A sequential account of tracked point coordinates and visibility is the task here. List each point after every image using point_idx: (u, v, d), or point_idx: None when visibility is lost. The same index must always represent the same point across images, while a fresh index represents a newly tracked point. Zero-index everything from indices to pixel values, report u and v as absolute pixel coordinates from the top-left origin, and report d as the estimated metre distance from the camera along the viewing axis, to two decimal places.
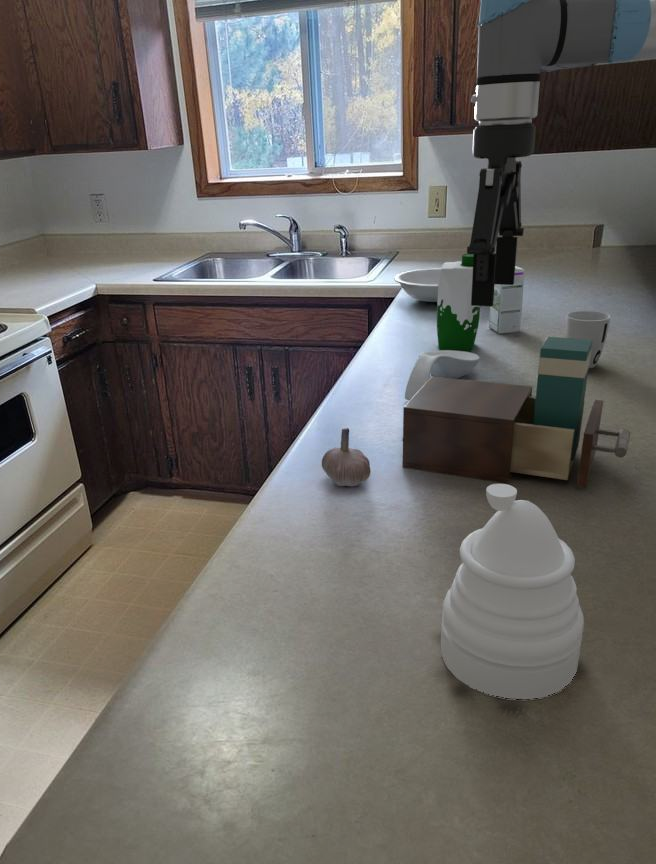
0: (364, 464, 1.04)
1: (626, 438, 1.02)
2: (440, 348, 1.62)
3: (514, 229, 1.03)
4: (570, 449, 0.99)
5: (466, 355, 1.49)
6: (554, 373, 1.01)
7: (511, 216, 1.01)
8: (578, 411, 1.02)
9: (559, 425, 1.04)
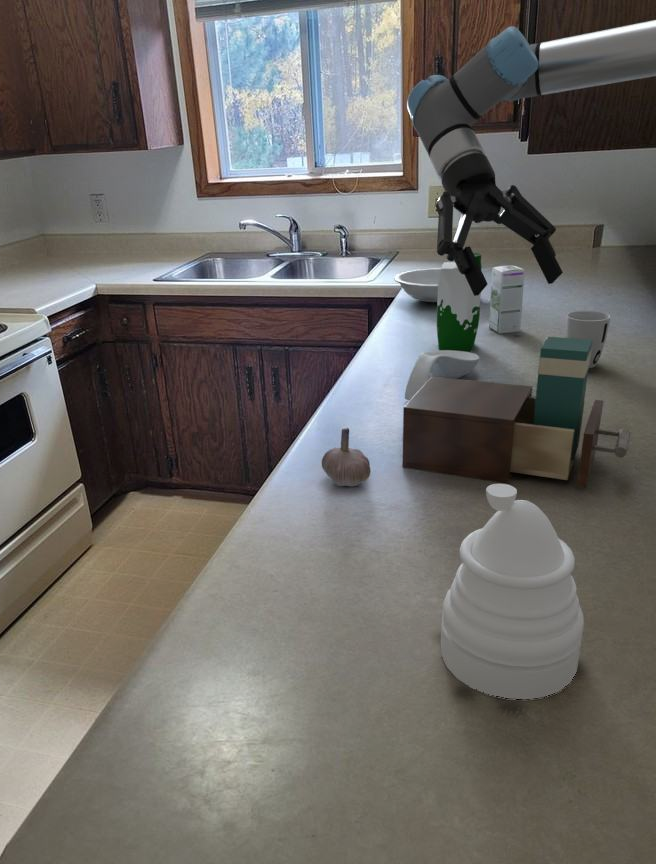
0: (364, 464, 1.04)
1: (626, 438, 1.02)
2: (440, 348, 1.62)
3: (537, 232, 1.11)
4: (570, 449, 0.99)
5: (466, 355, 1.49)
6: (554, 373, 1.01)
7: (522, 223, 1.11)
8: (578, 411, 1.02)
9: (559, 425, 1.04)
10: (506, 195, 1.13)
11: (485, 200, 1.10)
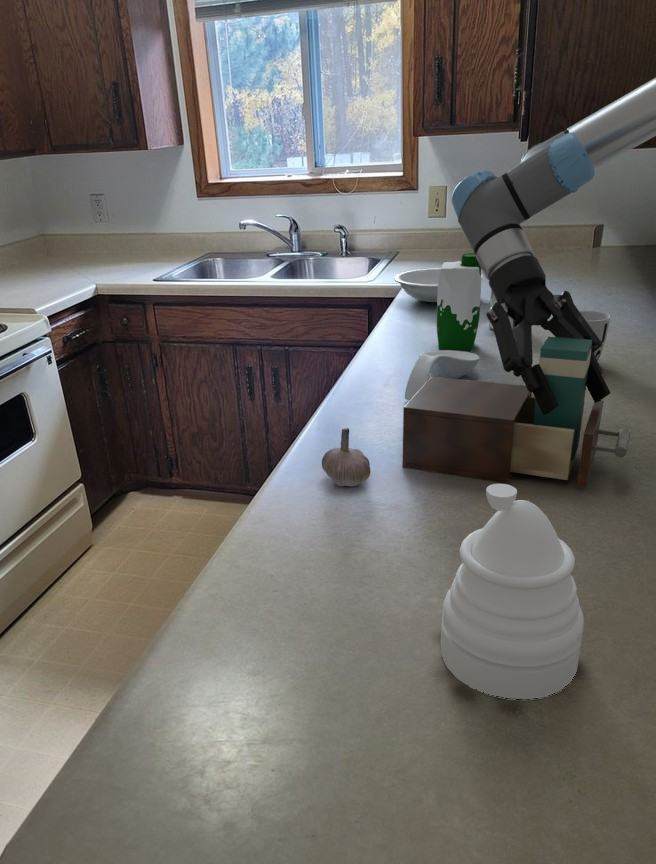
0: (364, 464, 1.04)
1: (626, 438, 1.02)
2: (440, 348, 1.62)
3: None
4: (570, 449, 0.99)
5: (466, 355, 1.49)
6: (554, 372, 1.01)
7: (568, 334, 1.06)
8: (578, 411, 1.02)
9: (559, 425, 1.04)
10: (557, 300, 1.08)
11: (536, 304, 1.06)
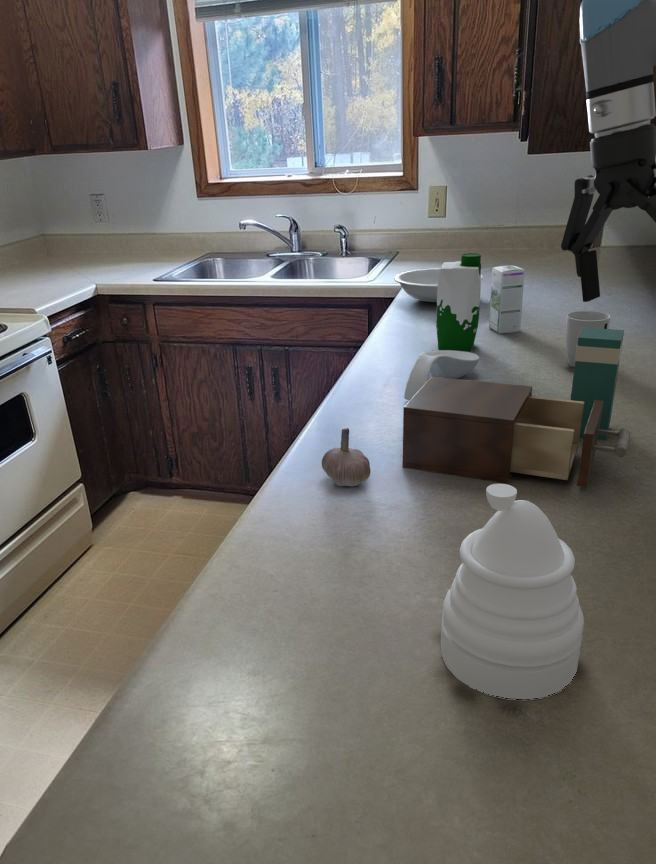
0: (364, 464, 1.04)
1: (626, 438, 1.02)
2: (440, 348, 1.62)
3: (592, 242, 1.02)
4: (570, 449, 0.99)
5: (466, 355, 1.49)
6: (590, 359, 1.12)
7: (600, 227, 1.00)
8: (611, 394, 1.13)
9: None
10: None
11: None
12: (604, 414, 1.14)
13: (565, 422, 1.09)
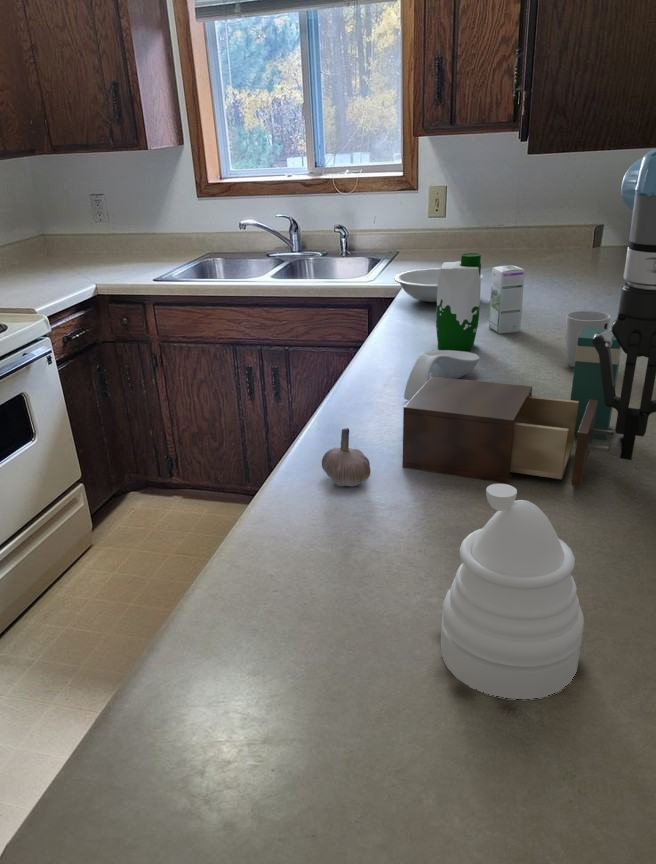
0: (364, 464, 1.04)
1: (620, 437, 1.02)
2: (440, 348, 1.62)
3: (630, 396, 1.00)
4: (564, 448, 1.00)
5: (466, 355, 1.49)
6: (590, 359, 1.12)
7: (633, 378, 0.99)
8: None
9: None
10: None
11: None
12: (604, 414, 1.14)
13: (560, 421, 1.10)
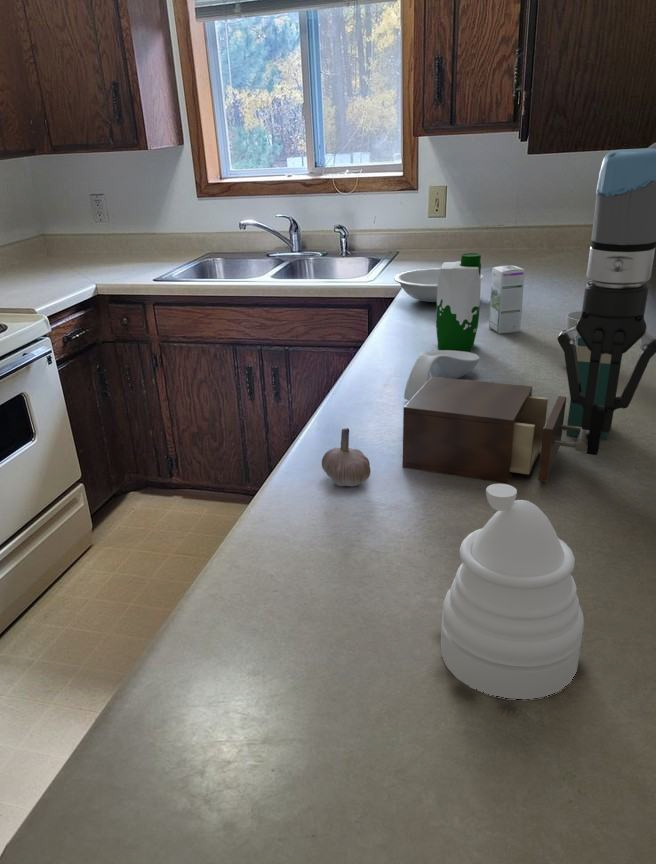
0: (364, 464, 1.04)
1: (587, 433, 1.04)
2: (440, 348, 1.62)
3: (595, 393, 1.02)
4: (531, 444, 1.02)
5: (466, 355, 1.49)
6: None
7: (598, 375, 1.00)
8: None
9: None
10: None
11: None
12: None
13: (529, 418, 1.12)
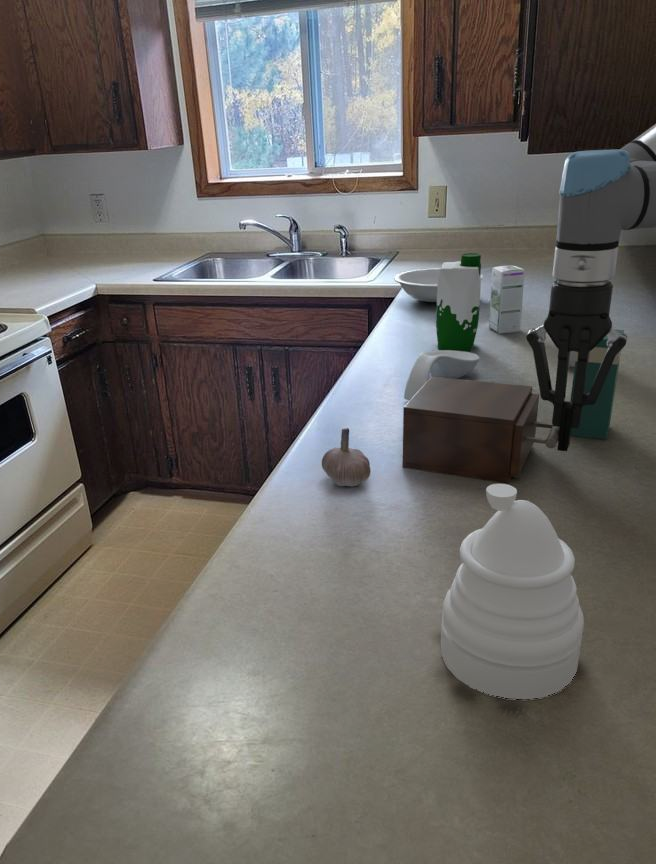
0: (364, 464, 1.04)
1: (558, 430, 1.05)
2: (440, 348, 1.62)
3: (565, 390, 1.03)
4: None
5: (466, 355, 1.49)
6: (590, 359, 1.12)
7: (567, 372, 1.02)
8: (611, 394, 1.13)
9: (594, 408, 1.14)
10: None
11: None
12: (604, 414, 1.14)
13: None
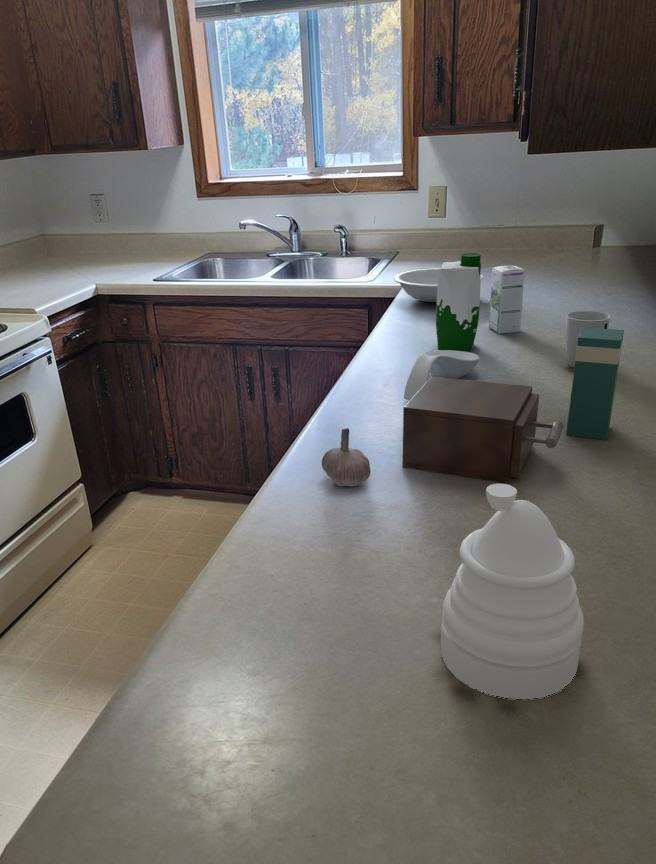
0: (364, 464, 1.04)
1: (558, 430, 1.05)
2: (439, 348, 1.62)
3: None
4: None
5: (466, 355, 1.49)
6: (590, 359, 1.12)
7: None
8: (611, 394, 1.13)
9: (594, 408, 1.14)
10: None
11: None
12: (604, 414, 1.14)
13: None
